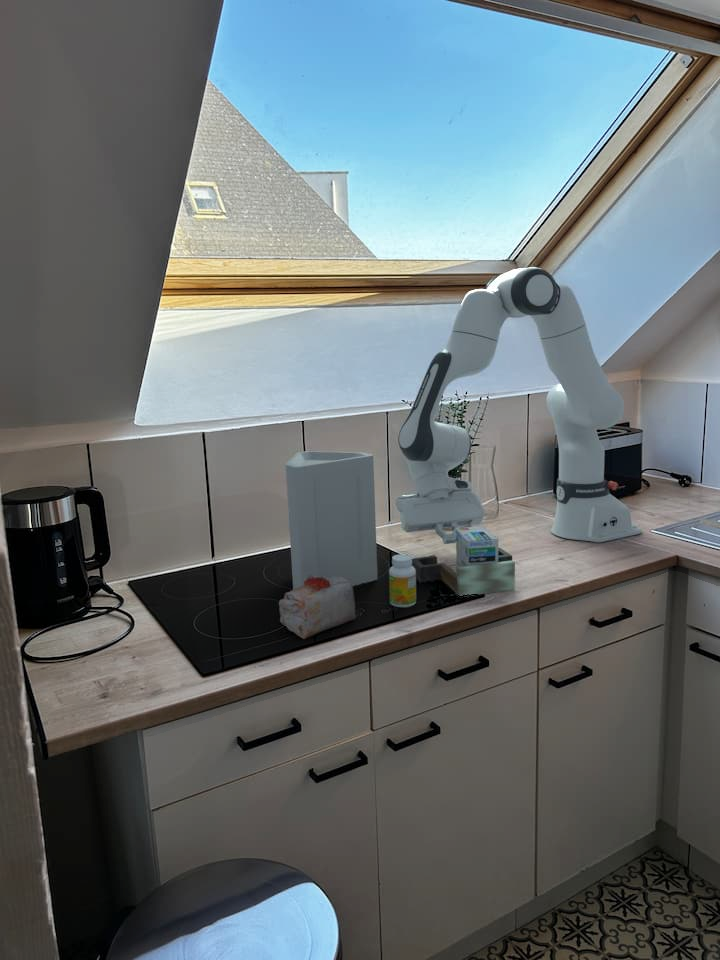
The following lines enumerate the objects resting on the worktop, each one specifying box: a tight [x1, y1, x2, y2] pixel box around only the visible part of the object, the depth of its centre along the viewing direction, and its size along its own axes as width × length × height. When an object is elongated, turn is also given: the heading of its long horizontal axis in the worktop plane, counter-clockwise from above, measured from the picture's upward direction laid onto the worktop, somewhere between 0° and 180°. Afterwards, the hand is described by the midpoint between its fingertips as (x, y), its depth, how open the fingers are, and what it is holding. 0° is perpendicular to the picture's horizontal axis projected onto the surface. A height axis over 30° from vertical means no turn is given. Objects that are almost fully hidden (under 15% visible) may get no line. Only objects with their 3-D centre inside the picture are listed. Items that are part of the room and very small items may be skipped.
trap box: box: [411, 547, 516, 597], centre depth 157 cm, size 22×17×6 cm
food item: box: [278, 574, 357, 640], centre depth 136 cm, size 14×8×10 cm, turn 130°
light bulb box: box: [455, 525, 499, 569], centre depth 157 cm, size 11×7×11 cm, turn 8°
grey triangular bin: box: [285, 450, 379, 590], centre depth 158 cm, size 19×15×28 cm
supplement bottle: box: [388, 553, 417, 608], centre depth 145 cm, size 5×5×10 cm
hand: (450, 542), depth 168 cm, fingers closed
